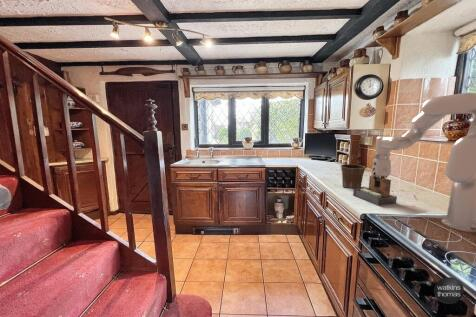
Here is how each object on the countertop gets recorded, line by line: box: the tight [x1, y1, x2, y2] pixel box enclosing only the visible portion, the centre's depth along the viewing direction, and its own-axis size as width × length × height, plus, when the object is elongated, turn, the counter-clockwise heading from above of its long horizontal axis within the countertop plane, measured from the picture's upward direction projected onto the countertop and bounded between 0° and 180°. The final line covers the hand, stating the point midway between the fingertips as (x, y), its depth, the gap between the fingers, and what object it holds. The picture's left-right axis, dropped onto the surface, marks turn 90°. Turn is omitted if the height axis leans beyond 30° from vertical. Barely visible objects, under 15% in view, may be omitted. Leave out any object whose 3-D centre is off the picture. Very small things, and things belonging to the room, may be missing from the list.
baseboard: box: [391, 189, 418, 201], centre depth 138 cm, size 31×3×12 cm
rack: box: [352, 187, 398, 207], centre depth 136 cm, size 18×14×5 cm
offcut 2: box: [369, 192, 382, 198], centre depth 133 cm, size 6×4×5 cm, turn 16°
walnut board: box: [368, 175, 392, 197], centre depth 136 cm, size 12×3×13 cm, turn 16°
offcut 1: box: [359, 188, 372, 194], centre depth 139 cm, size 6×4×5 cm, turn 15°
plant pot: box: [340, 163, 366, 190], centre depth 163 cm, size 16×16×16 cm
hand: (379, 186), depth 136 cm, fingers closed on walnut board, 3 cm apart
